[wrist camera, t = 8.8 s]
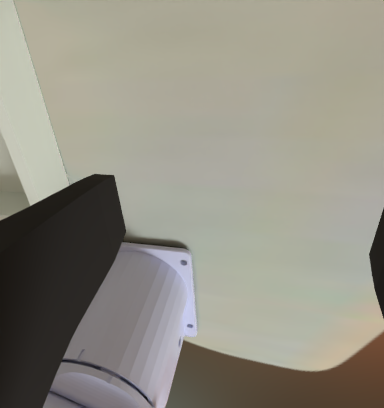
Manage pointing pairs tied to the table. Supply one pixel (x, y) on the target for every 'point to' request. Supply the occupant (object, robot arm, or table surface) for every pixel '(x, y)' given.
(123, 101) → the table surface
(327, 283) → the table surface
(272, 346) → the table surface
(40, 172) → the walled box
